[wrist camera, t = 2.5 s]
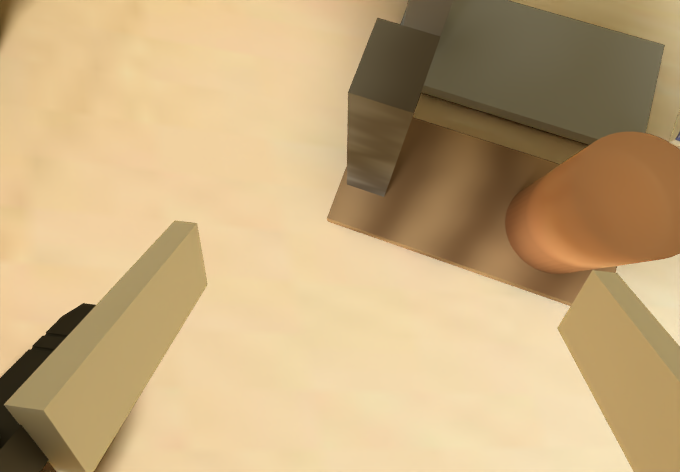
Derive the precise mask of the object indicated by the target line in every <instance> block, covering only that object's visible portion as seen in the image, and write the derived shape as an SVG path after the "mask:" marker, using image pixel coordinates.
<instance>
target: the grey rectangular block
mask: <svg viewBox="0 0 680 472" xmlns="http://www.w3.org/2000/svg"><path fill="white" fill-rule="evenodd" d="M400 25H403V26H407V27H410V28H413V29H417V30H420V31H423V32H427V33H430V34H434V35H437V36H440V40H439V43H438V46H437V49H436V51H435V54H434V57H433V60H432V63H431V66H430V69H429V71H428V74H427V77H426V80H425V83H424V86H423V89H422V91H421V93H425V94H428V95H431V96H434V97H437V98H441V99H444V100H447V101H450V102H453V103H457V104H460V105H463V106H466V107H469V108H473V109H476V110H479V111H482V112H485V113H489V114H492V115H495V116H498V117H501V118H505V119H508V120H511V121H514V122H517V123H521V124H524V125H527V126H530V127H533V128H537V129H540V130H543V131H546V132H550V133H553V134H556V135H559V136H562V137H566V138H569V139H572V140H575V141H578V142H582V143H585V144H588V145H590V144H592V143H593V142H595V141H597V140H598V139H600V138H602V137H605V136H607V135H610V134H614V133H618V132H641V133H646V129H647V124H648V120H649V115H650V111H651V106H652V101H653V97H654V92H655V87H656V83H657V78H658V73H659V69H660V64H661V59H662V55H663V50H664V46H665V45H663V44H659V43H656V42H652V41H649V40H645V39H642V38H638V37H635V36H631V35H628V34H624V33H621V32H617V31H614V30H610V29H607V28H603V27H600V26H596V25H593V24H589V23H586V22H582V21H579V20H575V19H572V18H568V17H565V16H561V15H558V14H554V13H551V12H547V11H544V10H540V9H537V8H533V7H530V6H526V5H523V4H519V3H516V2H512V1H509V0H408V5H407V8H406V11H405V14H404V16H403V19H402V22H401V24H400Z"/></svg>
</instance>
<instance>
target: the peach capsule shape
mask: <svg viewBox="0 0 680 472" xmlns="http://www.w3.org/2000/svg"><path fill="white" fill-rule="evenodd" d="M505 228H506V233H507V237H508V240H509V242H510V244H511V246H512V248H513V249H514V251H515V252H516V254H517V255H518V256H519V257H520V258H521V259H522V260H523V261H524V262H525V263H527V264H528V265H530V266H531V267H533V268H535V269H537V270H540V271H542V272H546V273H551V274H566V273H573V272H580V271H586V270H593V269H600V268H606V267H613V266H619V265H626V264H633V263H639V262H646V261H652V260H659V259H665V258H669V257H672V256H675V255H677V254H679V253H680V149H678V148H677V147H676V146H674V145H673V144H671V143H669V142H668V141H666V140H664V139H662V138H659V137H656V136H654V135H651V134H646V133H641V132H618V133H614V134H610V135H607V136H605V137H602V138H600V139H598V140H597V141H595V142H593V143H592V144H590V145H589V146H587V147H586V148H584V149H583V150H581V151H580V152H578V153H577V154H575V155H574V156H572V157H571V158H569V159H568V160H566V161H565V162H563V163H562V164H560V165H559V166H557V167H556V168H554V169H553V170H551V171H550V172H548V173H547V174H545V175H544V176H542V177H541V178H539V179H538V180H536V181H535V182H533V183H532V184H530V185H529V186H527V187H526V188H524V189H523V190H521V191H520V192H519V193H518V194H517V195H516V196H515V197H514V198H513V200H512V201H511V203H510V205H509V207H508V209H507V213H506V218H505Z"/></svg>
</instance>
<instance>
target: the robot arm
mask: <svg viewBox="0 0 680 472" xmlns="http://www.w3.org/2000/svg"><path fill="white" fill-rule="evenodd" d="M206 286H207V279H206V273H205V267H204V261H203V256H202V250H201V244H200V238H199V232H198V226H197V223H191V222H182V221H174V222H173V223H172V224H171V225H170V226H169V227H168V229H167V230H166V231H165V232H164V233H163V234H162V235H161V236H160V237H159V238H158V239H157V240H156V241H155V243H154V244H153V245H152V246H151V247H150V248H149V249H148V250H147V251H146V252H145V253H144V254H143V255H142V256H141V258H140V259H139V260H138V261H137V262H136V263H135V264H134V265H133V266H132V267H131V268H130V269H129V270H128V272H127V273H126V274H125V275H124V276H123V277H122V278H121V279H120V280H119V281H118V282H117V283H116V284H115V286H114V287H113V288H112V289H111V290H110V291H109V292H108V293H107V294H106V295H105V296H104V297H103V298H102V300H101V301H100V302H99V303H98V304H97V305H92V304H85V303H83V304H82V305H80V306H78V307H77V308H75V309H73V310H72V311H70V312H68V313H67V314H65V315H63V316H62V317H61V318H60V319H59V320H58V321H57V322H56V323H55V324H54V325H53V326H52V327H51V328H50V329H49V330H48V331H47V332H46V335H45V336H42V337H41V338H40V339H39V340H38V341H37V342H36V343H35V344H34V345H33V346H32V349H31V350H28V351H27V352H26V353H25V354H24V355H23V356H22V357H21V358H20V359H19V360H18V361H17V362H16V363H15V364H14V365H13V366H12V367H11V368H10V369H9V370H8V371H7V372H6V373H5V374H4V375H3V376H2V377H1V378H0V472H40V471H41V470H42V468H43V467H44V466H45V464H46V463H47V462H49V463H50V464H51V465H52V467H53V468H54V469H55V470H56V472H94V470H95V469H96V467H97V465H98V464H99V462H100V460H101V459H102V457H103V455H104V454H105V452H106V451H107V449H108V447H109V446H110V444H111V442H112V441H113V439H114V437H115V436H116V434H117V432H118V431H119V429H120V428H121V426H122V424H123V423H124V421H125V419H126V418H127V416H128V414H129V413H130V411H131V409H132V408H133V406H134V405H135V403H136V401H137V400H138V398H139V396H140V395H141V393H142V391H143V390H144V388H145V386H146V385H147V383H148V382H149V380H150V378H151V377H152V375H153V373H154V372H155V370H156V368H157V367H158V365H159V363H160V362H161V360H162V359H163V357H164V355H165V354H166V352H167V350H168V349H169V347H170V345H171V344H172V342H173V340H174V339H175V337H176V335H177V334H178V332H179V331H180V329H181V327H182V326H183V324H184V322H185V321H186V319H187V317H188V316H189V314H190V312H191V311H192V309H193V308H194V306H195V304H196V303H197V301H198V299H199V298H200V296H201V294H202V293H203V291H204V289H205V288H206ZM558 330H559V332H560V334H561V336H562V338H563V340H564V342H565V343H566V345H567V347H568V349H569V351H570V353H571V355H572V357H573V358H574V360H575V362H576V364H577V366H578V368H579V370H580V372H581V374H582V375H583V377H584V379H585V381H586V383H587V385H588V387H589V389H590V390H591V392H592V394H593V396H594V398H595V400H596V402H597V404H598V405H599V407H600V409H601V411H602V413H603V415H604V417H605V419H606V420H607V422H608V424H609V426H610V428H611V430H612V432H613V434H614V436H615V437H616V439H617V441H618V443H619V445H620V447H621V449H622V451H623V452H624V454H625V456H626V458H627V460H628V462H629V464H630V466H631V467H632V469H633V471H634V472H680V346H679V345H678V344H677V343H676V342H675V341H674V339H673V338H672V337H671V336H670V335H669V334H668V332H667V331H666V330H665V329H664V328H663V326H662V325H661V324H660V323H659V322H658V321H657V319H656V318H655V317H654V316H653V315H652V314H651V312H650V311H649V310H648V309H647V308H646V307H645V305H644V304H643V303H642V302H641V301H640V300H639V298H638V297H637V296H636V295H635V294H634V293H633V291H632V290H631V289H630V288H629V287H628V286H627V284H626V283H625V282H624V281H623V280H622V279H621V277H620V276H619V275H618V274H617V273H613V272H605V271H596V270H592V272H591V274H590V275H589V277H588V278H587V280H586V282H585V283H584V285H583V287H582V288H581V290H580V292H579V293H578V295H577V297H576V298H575V300H574V302H573V303H572V305H571V307H570V308H569V310H568V312H567V313H566V315H565V316H564V318H563V320H562V321H561V323H560V325H559V326H558Z"/></svg>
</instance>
